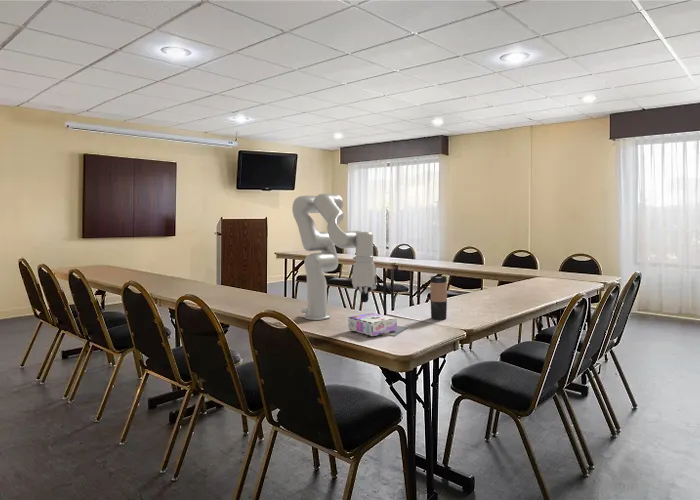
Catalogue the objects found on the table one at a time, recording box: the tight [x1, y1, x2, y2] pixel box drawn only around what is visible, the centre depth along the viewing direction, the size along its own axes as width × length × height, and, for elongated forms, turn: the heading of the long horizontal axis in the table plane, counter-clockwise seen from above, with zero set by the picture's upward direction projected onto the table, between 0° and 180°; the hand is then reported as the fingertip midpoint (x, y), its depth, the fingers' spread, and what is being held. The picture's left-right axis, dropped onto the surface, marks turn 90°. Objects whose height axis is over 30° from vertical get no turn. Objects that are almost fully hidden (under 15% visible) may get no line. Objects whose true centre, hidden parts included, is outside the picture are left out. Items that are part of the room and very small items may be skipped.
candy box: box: [348, 312, 398, 337], centre depth 212 cm, size 14×6×16 cm
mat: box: [357, 325, 409, 337], centre depth 216 cm, size 17×16×1 cm
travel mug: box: [430, 275, 448, 321], centre depth 237 cm, size 8×8×20 cm
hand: (364, 301), depth 219 cm, fingers closed
